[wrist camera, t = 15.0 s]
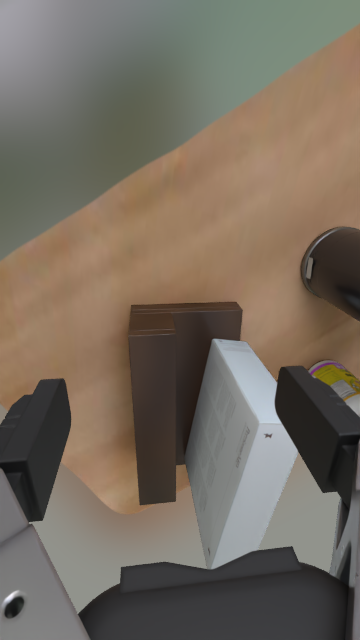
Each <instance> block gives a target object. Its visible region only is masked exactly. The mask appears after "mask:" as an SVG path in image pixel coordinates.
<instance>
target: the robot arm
mask: <svg viewBox="0 0 360 640" xmlns="http://www.w3.org/2000/svg"><path fill="white" fill-rule="evenodd" d="M301 274H302V279H303V282H304V284H305V286H306V287H307V289H308V290H309V291H310V292H312V293H313V294H315V295H316V296H318V297H320V298H323V299H324V300H326V301H327V302H329V303H330V304H332V305H334V306H335V307H337V308H339V309H340V310H342V311H344V312H345V313H347V314H348V315H350V316H352V317H353V318H355V319H357V320H358V321H360V230H359V229H355V228H350V227H337V228H333V229H330V230H328V231H326V232H324V233H323V234H321V235H320V236H319V237H317V238H316V239H315V240H314V241H313V242H312V244H311V245H310V246H309V248H308V249H307V251H306V253H305V255H304V258H303V261H302V267H301ZM275 410H276V414H277V416H278V418H279V420H280V421H281V423H282V425H283V426H284V428H285V430H286V431H287V433H288V435H289V436H290V438H291V440H292V442H293V443H294V445H295V447H296V448H297V450H298V452H299V453H300V455H301V457H302V459H303V460H304V462H305V464H306V465H307V467H308V469H309V470H310V472H311V474H312V475H313V477H314V479H315V480H316V482H317V484H318V486H319V487H320V489H321V491H322V492H323V493H327V492H338V494H339V495H340V497H341V499H340V502H339V506H338V514H337V523H336V531H335V539H334V547H333V555H332V562H331V567H330V571H329V573H328V572H326V571H324V570H322V569H319V568H317V567H315V566H312V565H308V564H305V563H301V562H299V561H298V559H297V557H296V554H295V552H294V550H293V547H292V546H291V547H283V548H275V549H267V550H258V551H252V552H249V553H247V554H245V555H243V556H241V557H239V558H236V559H234V560H232V561H230V562H228V563H226V564H224V565H221V566H219V567H217V568H215V569H203V568H197V567H191V566H186V565H180V564H175V563H169V562H159V563H151V564H143V565H135V566H126V567H121V578H120V584H117V585H115V586H113V587H111V588H109V589H108V590H106V591H104V592H103V593H101V594H100V595H99V596H97V597H96V598H95V599H93V600H92V601H91V602H90V603H89V604H88V605H87V606H86V607H85V608H84V609H83V610H82V611H81V612H80V613H79V614H77V612H76V610H75V608H74V606H73V604H72V602H71V600H70V598H69V596H68V594H67V592H66V590H65V588H64V586H63V584H62V582H61V580H60V578H59V576H58V574H57V572H56V570H55V568H54V566H53V564H52V562H51V560H50V558H49V556H48V553H47V552H46V550H45V548H44V546H43V543H42V542H41V539H40V538H39V535H38V533H37V532H36V530H35V528H34V526H33V525H32V524H29V522H33V521H42V520H43V518H44V515H45V512H46V508H47V505H48V501H49V498H50V495H51V492H52V488H53V485H54V482H55V478H56V475H57V472H58V468H59V465H60V462H61V458H62V455H63V452H64V448H65V445H66V442H67V438H68V435H69V432H70V427H71V411H70V406H69V400H68V394H67V388H66V383H65V380H64V379H63V378H62V379H44V380H40V382H39V383H38V385H37V387H36V389H35V391H34V393H33V394H32V395H24V396H23V397H22V398H20V399H19V400H18V401H17V402H16V403H14V404H13V405H12V406H11V408H10V410H9V411H8V413H7V415H6V416H5V419H4V420H3V421H2V423H1V425H0V640H360V417H359V416H358V415H357V414H356V413H355V412H354V411H353V410H352V409H351V408H350V407H349V405H346V402H345V401H344V400H343V399H342V398H341V397H339V395H338V394H337V393H336V392H335V391H334V390H333V389H332V387H331V386H329V385H328V384H326V383H325V382H323V381H321V380H320V379H318V378H313V377H312V376H311V374H310V373H309V372H308V371H307V370H306V369H305V368H304V367H303V366H288V367H281V368H280V371H279V376H278V382H277V388H276V394H275Z"/></svg>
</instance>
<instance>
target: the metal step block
mask: <svg viewBox="0 0 360 640" xmlns="http://www.w3.org/2000/svg"><path fill="white" fill-rule="evenodd" d="M242 311H243V310H242V309H241V307H240V306H239V305H238V304H237V302H217V303H185V304H154V305H131V314H130V324H129V335H128V338H129V353H130V368H131V383H132V398H133V413H134V428H135V442H136V457H137V472H138V487H139V502H140V505H147V504H157V503H167V502H175V501H176V465H184V464H186V463H185V453H186V449H187V444H188V440H189V436H190V432H191V427H192V423H193V419H194V414H195V410H196V406H197V401H198V397H199V393H200V389H201V385H202V381H203V376H204V372H205V367H206V363H207V359H208V355H209V351H210V347H211V342H212V339H223V340H233V341H240V332H241V321H242Z"/></svg>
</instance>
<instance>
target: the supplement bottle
mask: <svg viewBox="0 0 360 640" xmlns="http://www.w3.org/2000/svg"><path fill="white" fill-rule="evenodd" d="M308 372H309V373H310V374H311V376H312V377H313V378H318V379H320V380H321V381H323V382H325V383H326V384H328V385H329V386H331V387H332V389H333V390H334V391H335V392H336V393H337V394H338V395H339V397H341V398H342V399H343V400H344V401H345V402H346V405H349V407H350V408H351V409H352V410H353V411H354V412H355V413H356V414H357V415H358V416H359V417H360V381H359V380H358V379H357V378H356V377H355V376H354V375H353V374H351V373H350V372H349V371H348V370H347V369H346V368H345V367H343V366H342V365H341V364H340V363H338V362H336V361H331V360H326V361H322V362H319V363H317V364H315V365H314V366H312V367H311V368H310V369H309V370H308Z"/></svg>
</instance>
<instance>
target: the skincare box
mask: <svg viewBox="0 0 360 640" xmlns="http://www.w3.org/2000/svg"><path fill="white" fill-rule="evenodd" d="M276 388H277V382H276V381H275V379H274V378H273V377H272V375H271V374H270V373H269V371H268V370H267V369H266V367H265V366H264V365H263V363H262V362H261V361H260V359H259V358H258V357H257V355H256V354H255V353H254V351H253V350H252V349H251V347H250V346H249V345H248V343H247V342H243V341H233V340H223V339H212V342H211V347H210V351H209V355H208V359H207V363H206V367H205V372H204V376H203V381H202V385H201V389H200V393H199V397H198V401H197V406H196V410H195V414H194V419H193V423H192V427H191V432H190V436H189V440H188V444H187V449H186V453H185V463H186V468H187V472H188V477H189V481H190V486H191V491H192V496H193V501H194V506H195V511H196V516H197V521H198V526H199V530H200V535H201V541H202V546H203V550H204V555H205V560H206V566H207V569H215V568H217V567H219V566H221V565H224V564H226V563H228V562H230V561H232V560H234V559H236V558H239V557H241V556H243V555H245V554H247V553H249V552H252V551H257V550H258V548H259V546H260V543H261V541H262V538H263V536H264V534H265V531H266V529H267V526H268V524H269V522H270V519H271V517H272V515H273V512H274V510H275V507H276V505H277V503H278V500H279V498H280V495H281V493H282V491H283V488H284V486H285V483H286V481H287V479H288V476H289V474H290V471H291V469H292V466H293V464H294V462H295V459H296V457H297V455H298V450H297V448H296V447H295V445H294V443H293V442H292V440H291V438H290V436H289V435H288V433H287V431H286V430H285V428H284V426H283V425H282V423H281V421H280V420H279V418H278V416H277V414H276V410H275V394H276Z"/></svg>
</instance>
